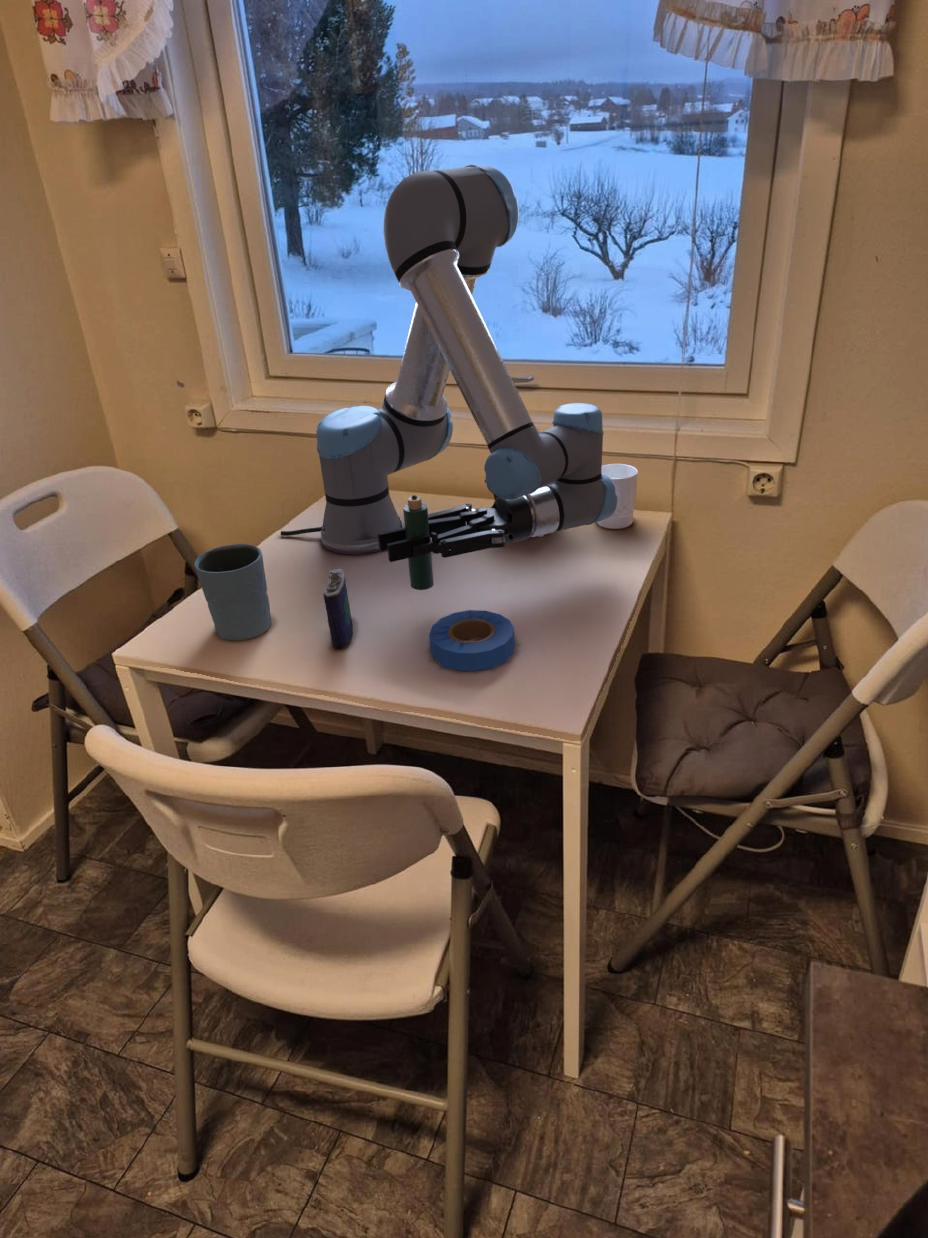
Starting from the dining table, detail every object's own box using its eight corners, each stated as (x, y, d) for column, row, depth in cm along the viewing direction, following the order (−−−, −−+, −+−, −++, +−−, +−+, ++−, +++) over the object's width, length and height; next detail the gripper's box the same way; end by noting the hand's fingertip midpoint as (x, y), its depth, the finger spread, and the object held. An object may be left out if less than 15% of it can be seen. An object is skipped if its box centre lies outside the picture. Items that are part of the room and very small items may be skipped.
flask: (337, 619, 134) (327, 557, 129) (355, 618, 134) (347, 556, 128) (330, 650, 126) (320, 586, 121) (350, 649, 126) (341, 585, 120)
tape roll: (415, 658, 122) (413, 641, 121) (459, 620, 131) (458, 603, 130) (488, 679, 117) (487, 661, 115) (528, 638, 125) (528, 620, 124)
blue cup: (245, 648, 128) (229, 577, 122) (196, 635, 132) (178, 565, 126) (289, 617, 135) (276, 549, 129) (241, 605, 140) (226, 538, 134)
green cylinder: (406, 587, 133) (397, 497, 125) (419, 577, 135) (410, 489, 128) (425, 592, 131) (417, 501, 124) (438, 582, 134) (431, 492, 126)
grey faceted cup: (635, 531, 156) (637, 479, 151) (591, 530, 157) (592, 478, 152) (636, 514, 162) (638, 463, 157) (594, 513, 164) (595, 463, 159)
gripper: (549, 556, 130) (405, 592, 123) (501, 518, 144) (369, 549, 136) (549, 511, 127) (400, 545, 119) (500, 476, 140) (364, 505, 132)
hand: (384, 547), depth 128 cm, fingers closed on green cylinder, 4 cm apart
